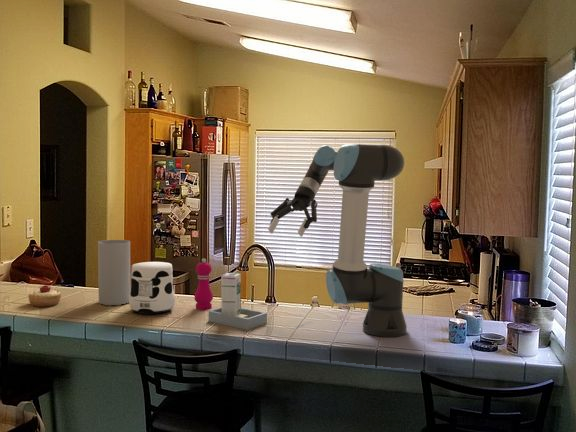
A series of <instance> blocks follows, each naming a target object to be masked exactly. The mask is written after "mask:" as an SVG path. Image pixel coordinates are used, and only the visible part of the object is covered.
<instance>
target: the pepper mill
mask: <svg viewBox="0 0 576 432" xmlns="http://www.w3.org/2000/svg"><path fill="white" fill-rule="evenodd" d="M195 270H196V273H197V279H198V286H197V289H196V291H195V293H194V301H195V302H196V303H195V309H196V311H197V310H198V311H209V310H212V301H213V299H214V296H213V292H212V289H211V287H210V279H211V274H210V273H211V272H212V266H211V264H210V263H209V262H207V259H206V258H202V259H201V262H199V263H198V264H197V265H196V269H195Z"/></svg>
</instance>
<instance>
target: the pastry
mask: <svg viewBox="0 0 576 432" xmlns="http://www.w3.org/2000/svg"><path fill="white" fill-rule="evenodd" d="M27 297H28V301H29V304H30V305H31V306H32V307H36V308H46V307H45V306H49V307H53V306H52V305H54V306H57V305H58V304H59V303H60V300H61V297H62V293H61V292H60V290H58V289H52V287H51V286H50V285H49V284H44V283H41V286H39V287H38V290H33V291H31V292H29V293H28V296H27Z"/></svg>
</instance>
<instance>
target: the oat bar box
mask: <svg viewBox="0 0 576 432" xmlns="http://www.w3.org/2000/svg"><path fill="white" fill-rule="evenodd" d="M237 316H239V317H243V318H248V315H243V314H238V315H237Z"/></svg>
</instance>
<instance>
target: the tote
mask: <svg viewBox="0 0 576 432" xmlns="http://www.w3.org/2000/svg"><path fill="white" fill-rule="evenodd" d="M239 314H243V315H248V318H243V317H239V316H234V315H229V314H224V313H222V306H221V307H217V308H213V309H209V310H208V322H211V323H214V324H218V325H222V326H223V325H224V326H227V327H228V326H229V327H232V328H238V329H242V330H246V331H249V330H252V329H255V328H257V327H260V326H263V325H265V324H268V312H265V311H261V310H260V311H259V310H255V309H249V308H244V307H241V312H240V313H239Z"/></svg>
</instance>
